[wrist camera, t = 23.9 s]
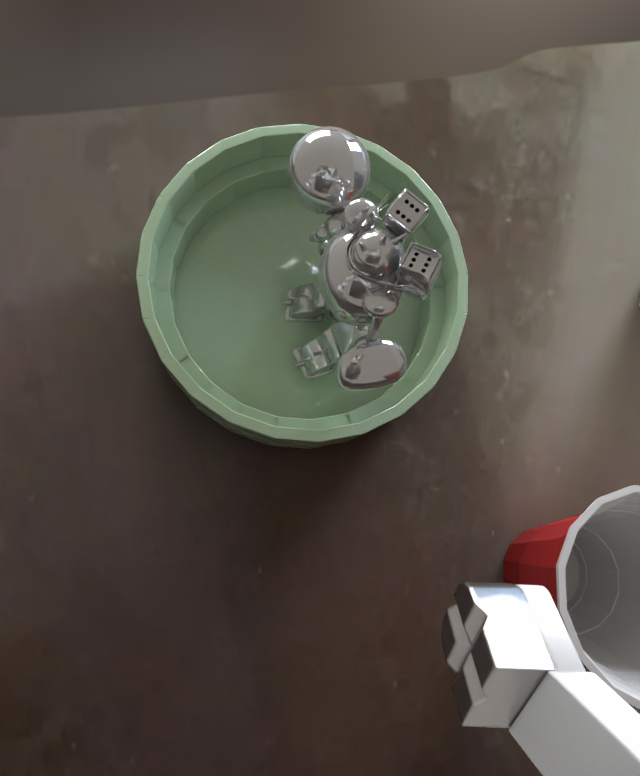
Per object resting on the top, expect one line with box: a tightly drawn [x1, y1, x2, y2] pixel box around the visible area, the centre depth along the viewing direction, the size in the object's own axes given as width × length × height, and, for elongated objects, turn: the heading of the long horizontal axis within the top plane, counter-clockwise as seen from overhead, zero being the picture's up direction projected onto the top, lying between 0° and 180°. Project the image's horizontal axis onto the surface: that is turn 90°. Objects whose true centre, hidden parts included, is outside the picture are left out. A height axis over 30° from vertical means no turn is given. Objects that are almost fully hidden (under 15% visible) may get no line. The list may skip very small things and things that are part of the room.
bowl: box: [136, 124, 468, 449], centre depth 38 cm, size 20×20×6 cm
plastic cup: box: [504, 485, 640, 709], centre depth 34 cm, size 11×11×12 cm
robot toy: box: [280, 126, 442, 391], centre depth 33 cm, size 15×6×15 cm, turn 12°
